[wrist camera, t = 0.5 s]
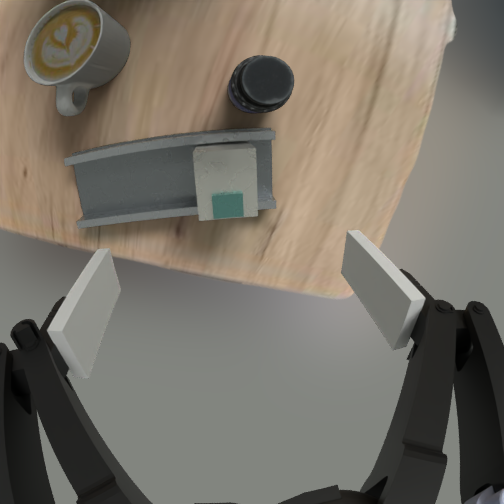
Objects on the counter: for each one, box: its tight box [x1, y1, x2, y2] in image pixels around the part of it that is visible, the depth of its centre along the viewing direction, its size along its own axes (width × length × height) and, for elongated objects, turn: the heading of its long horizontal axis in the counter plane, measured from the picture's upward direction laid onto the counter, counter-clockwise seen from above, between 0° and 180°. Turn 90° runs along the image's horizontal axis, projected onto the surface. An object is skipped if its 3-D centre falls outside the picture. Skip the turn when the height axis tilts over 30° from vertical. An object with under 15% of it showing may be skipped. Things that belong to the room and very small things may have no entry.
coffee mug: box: [24, 0, 130, 116], centre depth 22 cm, size 13×10×10 cm
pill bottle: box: [228, 55, 294, 113], centre depth 26 cm, size 6×6×11 cm
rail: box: [64, 128, 276, 229], centre depth 31 cm, size 10×26×10 cm, turn 92°
